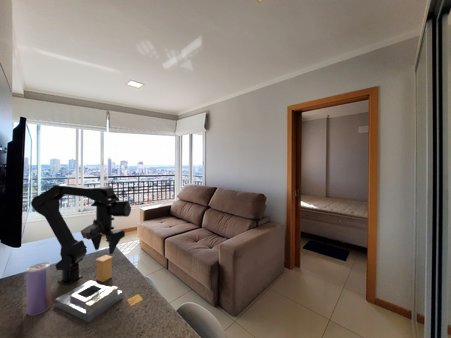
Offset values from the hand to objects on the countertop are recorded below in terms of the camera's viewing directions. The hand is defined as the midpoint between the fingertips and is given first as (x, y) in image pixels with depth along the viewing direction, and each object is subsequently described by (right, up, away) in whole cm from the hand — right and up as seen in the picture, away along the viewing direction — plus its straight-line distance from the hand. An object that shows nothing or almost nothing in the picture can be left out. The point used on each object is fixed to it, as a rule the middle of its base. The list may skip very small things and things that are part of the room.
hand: (104, 251), depth 84 cm
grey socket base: (+4, -12, -14) cm, 19 cm away
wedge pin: (0, -12, +1) cm, 12 cm away
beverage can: (-11, -12, -18) cm, 24 cm away
